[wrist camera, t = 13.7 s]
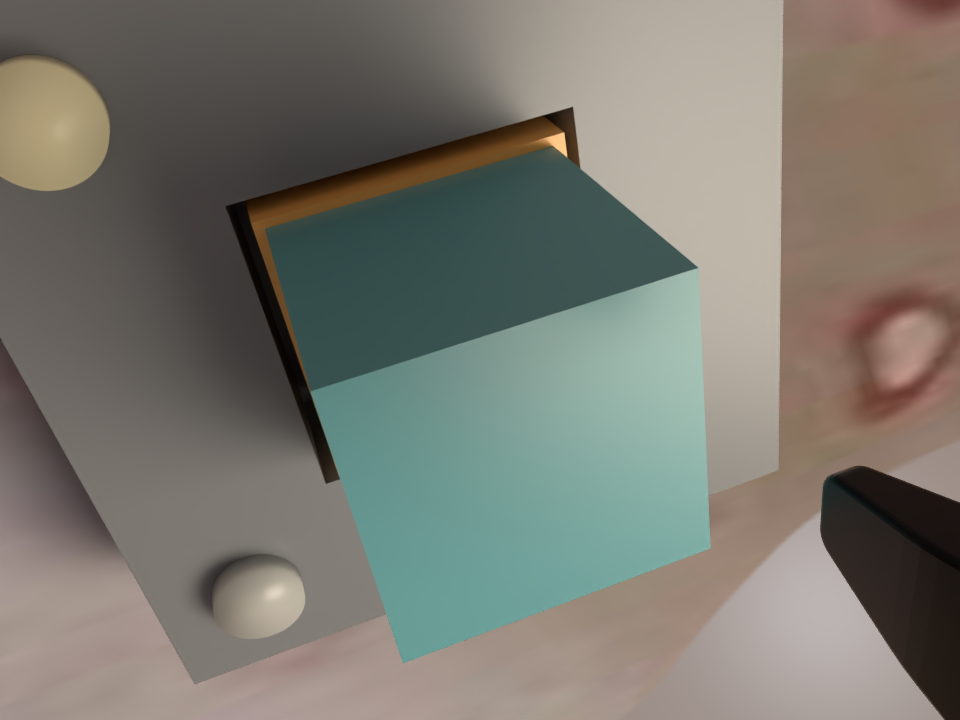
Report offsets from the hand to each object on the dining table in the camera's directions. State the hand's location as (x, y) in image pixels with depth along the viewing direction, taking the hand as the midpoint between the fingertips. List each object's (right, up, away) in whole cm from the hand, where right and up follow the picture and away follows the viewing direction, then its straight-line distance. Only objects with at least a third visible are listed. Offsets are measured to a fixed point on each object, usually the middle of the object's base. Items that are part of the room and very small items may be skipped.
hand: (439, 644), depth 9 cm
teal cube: (0, +4, +7) cm, 8 cm away
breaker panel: (-1, +6, +11) cm, 12 cm away
